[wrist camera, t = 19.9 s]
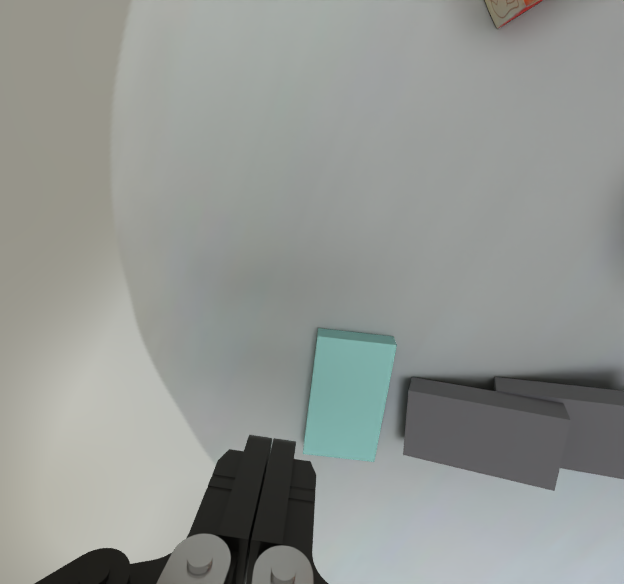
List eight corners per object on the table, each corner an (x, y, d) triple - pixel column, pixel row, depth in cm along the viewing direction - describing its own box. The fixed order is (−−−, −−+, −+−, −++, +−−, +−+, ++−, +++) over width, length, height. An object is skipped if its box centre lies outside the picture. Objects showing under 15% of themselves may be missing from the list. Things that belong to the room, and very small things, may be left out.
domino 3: (494, 376, 26) (660, 394, 23) (490, 439, 28) (645, 464, 25) (496, 390, 25) (675, 412, 22) (491, 455, 26) (658, 485, 23)
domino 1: (304, 437, 29) (318, 325, 26) (371, 444, 29) (391, 333, 26) (303, 453, 27) (318, 336, 24) (374, 461, 27) (396, 345, 24)
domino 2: (411, 376, 27) (563, 403, 24) (406, 438, 28) (548, 470, 25) (408, 390, 25) (570, 420, 22) (403, 454, 26) (554, 490, 23)
